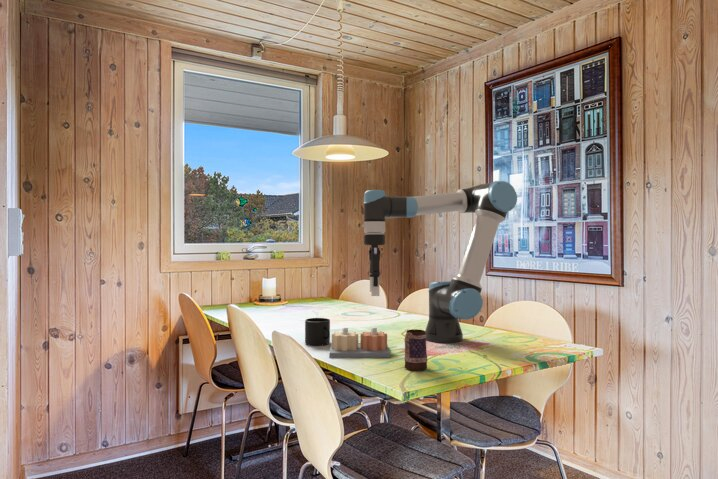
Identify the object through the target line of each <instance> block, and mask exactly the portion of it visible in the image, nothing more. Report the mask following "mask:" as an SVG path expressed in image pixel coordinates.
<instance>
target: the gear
mask: <svg viewBox="0 0 718 479" xmlns="http://www.w3.org/2000/svg"><path fill="white" fill-rule="evenodd" d="M359 343H360V348H363V350H372V351H377V350H385V348H387V345H388V333H386V332H384V331H377V334H376V335H372V334H371V331H362V333H360V342H359Z"/></svg>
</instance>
